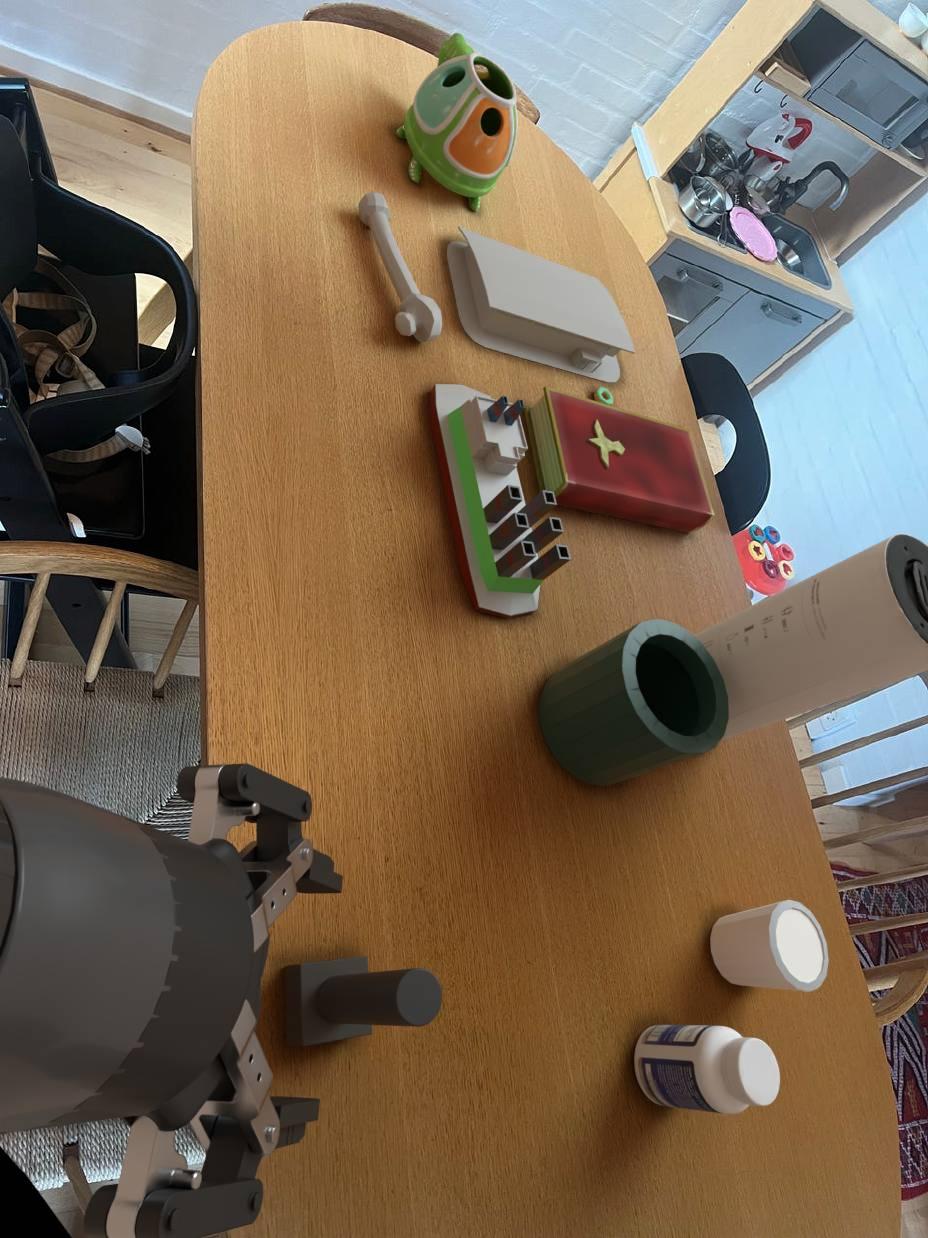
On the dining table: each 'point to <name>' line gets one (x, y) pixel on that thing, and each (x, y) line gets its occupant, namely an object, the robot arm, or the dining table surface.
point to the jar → (635, 705)
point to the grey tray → (536, 308)
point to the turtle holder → (462, 122)
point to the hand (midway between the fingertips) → (311, 989)
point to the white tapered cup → (771, 947)
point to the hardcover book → (617, 462)
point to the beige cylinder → (826, 636)
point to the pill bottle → (705, 1068)
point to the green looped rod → (606, 394)
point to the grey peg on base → (354, 999)
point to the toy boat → (492, 501)
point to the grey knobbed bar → (400, 274)
